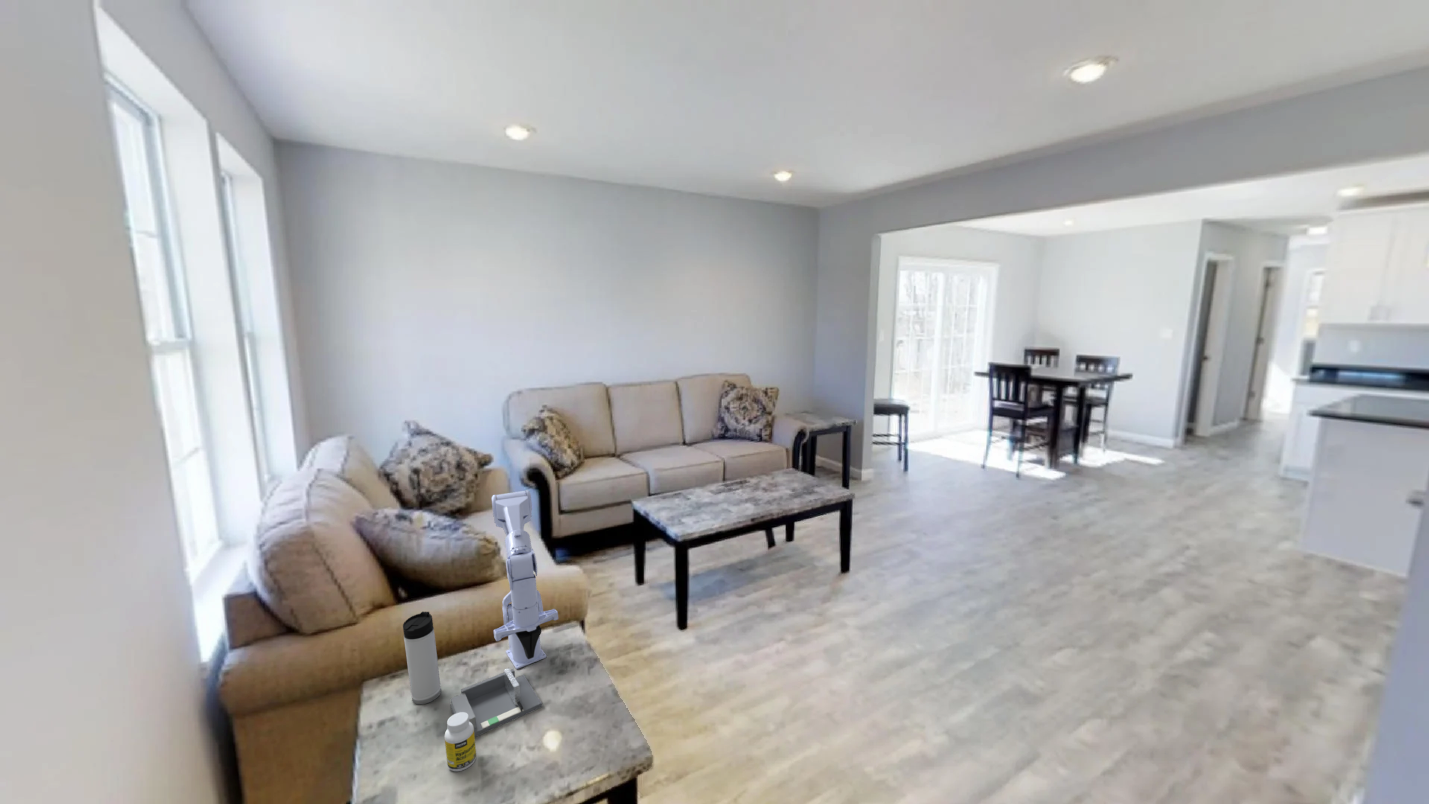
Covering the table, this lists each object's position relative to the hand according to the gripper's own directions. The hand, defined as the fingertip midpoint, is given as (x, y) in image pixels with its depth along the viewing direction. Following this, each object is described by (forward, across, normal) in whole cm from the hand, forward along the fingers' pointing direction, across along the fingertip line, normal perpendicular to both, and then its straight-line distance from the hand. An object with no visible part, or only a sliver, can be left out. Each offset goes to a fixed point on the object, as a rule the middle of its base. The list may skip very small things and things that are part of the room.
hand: (529, 656), depth 132 cm
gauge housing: (+9, -8, 0) cm, 13 cm away
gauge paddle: (+8, -5, -1) cm, 9 cm away
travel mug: (+10, -20, +15) cm, 27 cm away
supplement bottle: (+10, -18, -12) cm, 24 cm away
